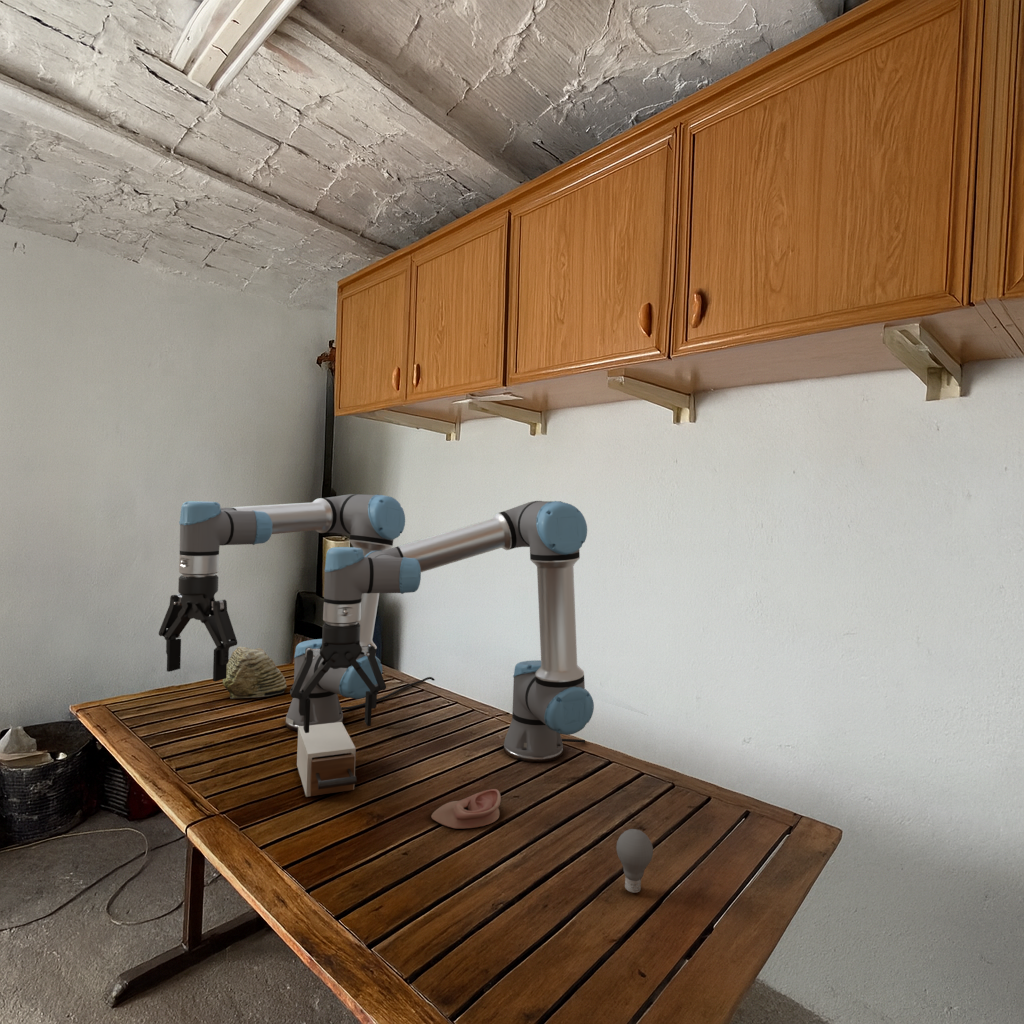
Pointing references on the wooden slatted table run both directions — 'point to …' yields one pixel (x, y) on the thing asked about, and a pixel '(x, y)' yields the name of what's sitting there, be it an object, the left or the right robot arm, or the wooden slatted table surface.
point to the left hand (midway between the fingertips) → (196, 674)
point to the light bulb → (634, 857)
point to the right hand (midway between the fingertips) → (337, 727)
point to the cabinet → (321, 747)
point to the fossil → (253, 674)
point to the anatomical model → (470, 811)
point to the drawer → (332, 774)
